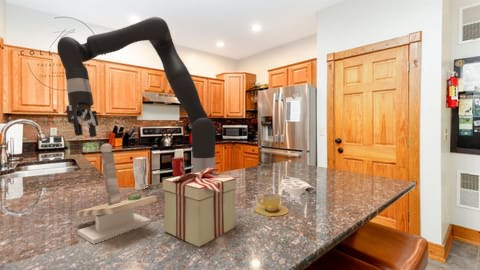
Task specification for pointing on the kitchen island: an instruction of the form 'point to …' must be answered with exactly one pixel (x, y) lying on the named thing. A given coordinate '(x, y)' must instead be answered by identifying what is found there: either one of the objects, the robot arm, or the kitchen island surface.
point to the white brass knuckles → (295, 187)
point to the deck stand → (112, 225)
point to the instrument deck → (115, 207)
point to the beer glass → (140, 172)
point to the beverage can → (178, 166)
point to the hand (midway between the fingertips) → (86, 136)
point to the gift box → (199, 206)
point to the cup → (270, 205)
